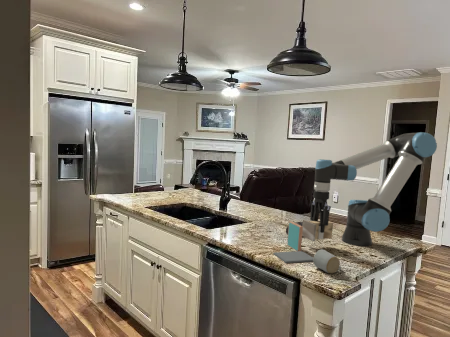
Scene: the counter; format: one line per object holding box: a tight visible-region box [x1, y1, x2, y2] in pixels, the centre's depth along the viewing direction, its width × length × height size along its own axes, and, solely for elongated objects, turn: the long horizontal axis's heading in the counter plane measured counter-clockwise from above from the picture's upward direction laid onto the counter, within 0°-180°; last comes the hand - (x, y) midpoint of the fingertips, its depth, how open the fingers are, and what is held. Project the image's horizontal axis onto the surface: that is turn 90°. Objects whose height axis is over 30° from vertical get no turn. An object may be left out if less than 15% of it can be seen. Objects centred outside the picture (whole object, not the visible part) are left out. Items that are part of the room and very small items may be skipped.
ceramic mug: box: [312, 249, 342, 274], centre depth 132 cm, size 11×8×8 cm
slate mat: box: [272, 250, 314, 264], centre depth 144 cm, size 15×11×1 cm
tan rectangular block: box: [302, 219, 334, 242], centre depth 161 cm, size 13×10×8 cm
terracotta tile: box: [286, 221, 303, 251], centre depth 157 cm, size 2×10×12 cm, turn 19°
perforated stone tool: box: [285, 221, 303, 236], centre depth 183 cm, size 15×5×7 cm, turn 123°
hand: (317, 237), depth 162 cm, fingers closed on tan rectangular block, 4 cm apart
